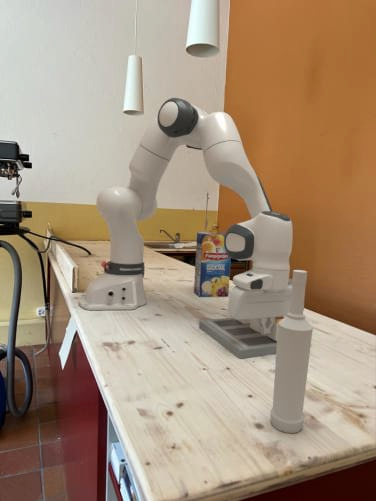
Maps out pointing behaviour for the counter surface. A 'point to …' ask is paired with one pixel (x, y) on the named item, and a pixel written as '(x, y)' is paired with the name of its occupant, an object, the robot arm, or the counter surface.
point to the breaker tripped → (274, 329)
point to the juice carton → (211, 266)
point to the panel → (240, 336)
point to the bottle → (292, 361)
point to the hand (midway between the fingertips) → (264, 333)
